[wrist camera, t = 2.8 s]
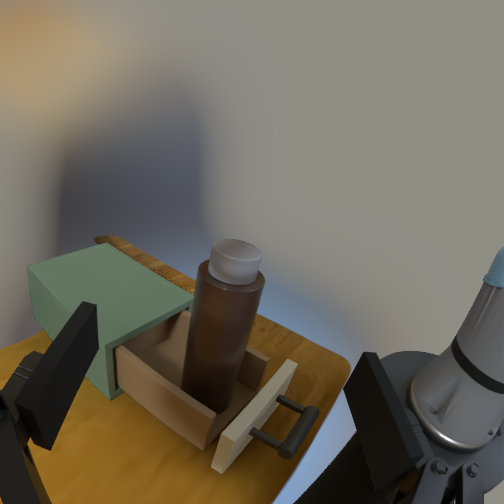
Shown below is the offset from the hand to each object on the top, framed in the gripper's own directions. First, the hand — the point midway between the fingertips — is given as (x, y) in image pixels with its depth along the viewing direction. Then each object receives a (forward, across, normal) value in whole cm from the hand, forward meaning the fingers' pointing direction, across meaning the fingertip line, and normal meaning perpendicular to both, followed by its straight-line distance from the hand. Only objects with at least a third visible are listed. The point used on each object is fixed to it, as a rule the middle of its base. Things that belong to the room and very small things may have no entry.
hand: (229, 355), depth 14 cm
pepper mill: (+10, 0, -14) cm, 17 cm away
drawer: (+10, 0, -16) cm, 18 cm away
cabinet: (+18, -13, -17) cm, 28 cm away
